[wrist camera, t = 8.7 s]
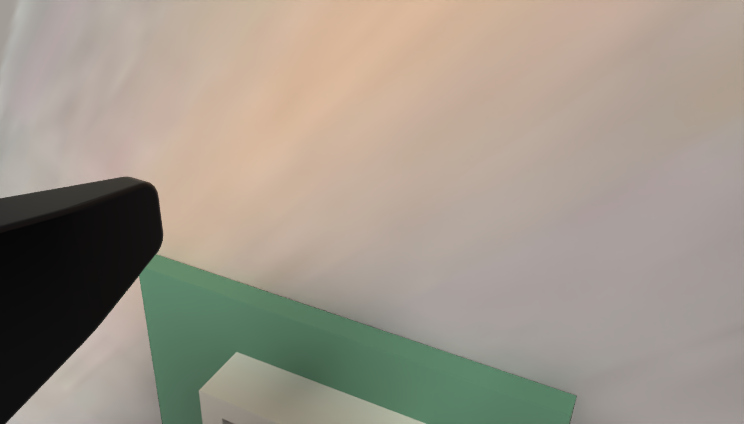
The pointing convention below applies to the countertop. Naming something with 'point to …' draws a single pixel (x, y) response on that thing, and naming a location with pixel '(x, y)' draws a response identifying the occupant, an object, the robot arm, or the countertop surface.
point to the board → (311, 364)
